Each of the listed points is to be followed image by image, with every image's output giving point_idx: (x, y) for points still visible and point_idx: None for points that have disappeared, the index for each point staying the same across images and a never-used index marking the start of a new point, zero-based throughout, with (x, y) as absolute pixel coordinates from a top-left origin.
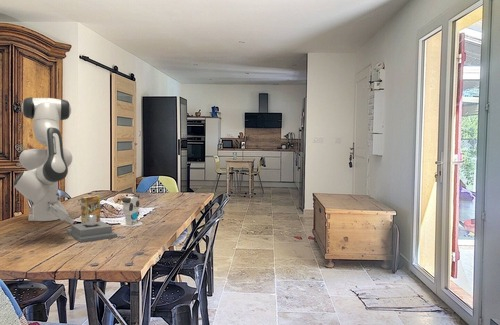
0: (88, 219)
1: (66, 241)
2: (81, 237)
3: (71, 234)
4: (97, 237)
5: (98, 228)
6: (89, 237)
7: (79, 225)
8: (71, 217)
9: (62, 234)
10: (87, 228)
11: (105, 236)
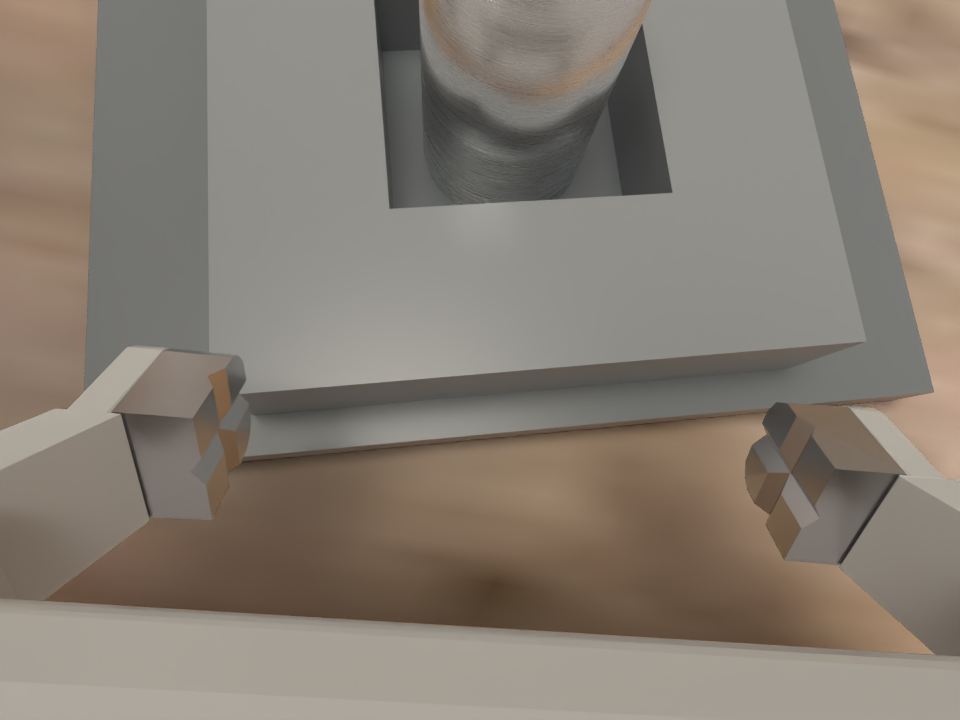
0: (625, 31)
1: (731, 577)
2: (819, 360)
3: (405, 443)
4: (865, 160)
5: (787, 38)
6: (866, 258)
7: (392, 263)
8: (229, 371)
9: (198, 564)
10: (748, 194)
11: (840, 59)
